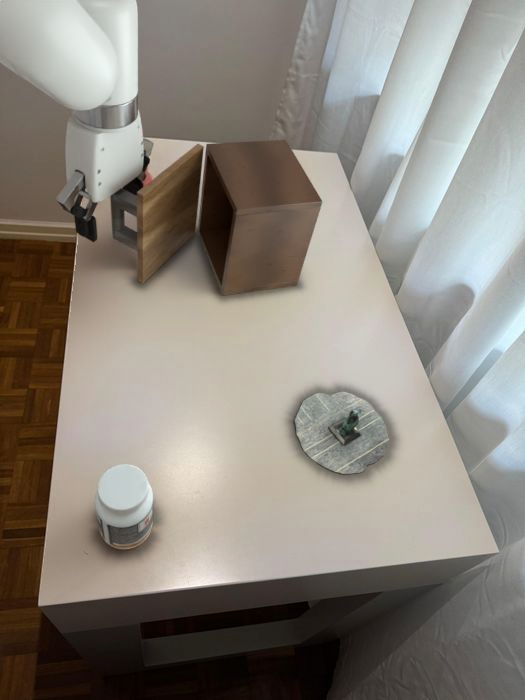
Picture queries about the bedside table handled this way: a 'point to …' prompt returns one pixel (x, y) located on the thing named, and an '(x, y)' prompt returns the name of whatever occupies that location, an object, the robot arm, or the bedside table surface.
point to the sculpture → (341, 432)
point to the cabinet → (256, 215)
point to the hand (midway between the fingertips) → (110, 218)
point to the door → (160, 213)
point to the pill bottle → (124, 506)
